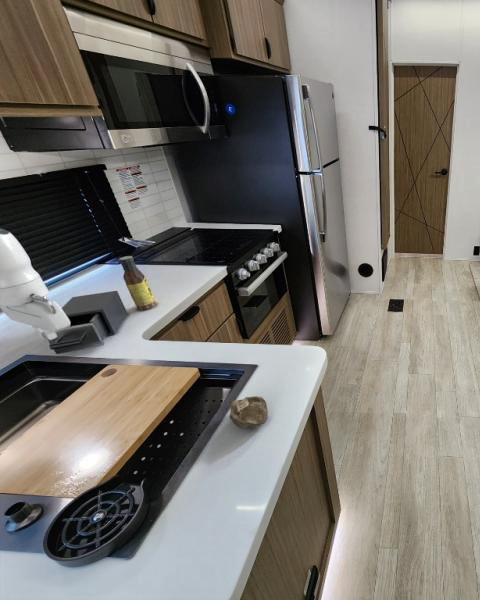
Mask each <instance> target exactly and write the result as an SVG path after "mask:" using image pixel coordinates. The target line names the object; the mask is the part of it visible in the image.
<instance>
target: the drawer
mask: <svg viewBox="0 0 480 600" xmlns="http://www.w3.org/2000/svg"><path fill="white" fill-rule="evenodd" d="M68 319H69V320H70V326H69V327H67V328H65V329H63V330H60V331H58V332H55V333H56V335H57V337H56V338H54V339H52V340H49V339H46V341H47V342H48V343H49V346H48V347H49V350H53V351H54V353H55V355H61V354H66V353H72V352H77V351H84V350H88V349H93V348H98V347H103V346H104V345H105V341H104V340H105V338H106V337H107V336H108V335H107V334H108V332H109V331H110V329H109V327H108V325H107V323H106V321H105V319H104V317H103V315H102V313H101V312H95V313H89V314H83V315H77V316H71V317H68ZM106 335H107V336H106Z"/></svg>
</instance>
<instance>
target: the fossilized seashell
mask: <svg viewBox="0 0 480 600" xmlns="http://www.w3.org/2000/svg"><path fill="white" fill-rule="evenodd" d="M229 406H230V410H229V411H230V412H229V419H230V420H231V422H232V423H233V424H234V425H235V426H236V427H239V428H240V429H241V428H243V429H251V428H255V427H260V426H262V425H264V424H265V423H266V422H267V420H268V414H269V410H268V407H267V406H268V403H267V401H266V400H265V398H263V397H262V396H258V395H257V396H255V395H253V396H245V397H244V398H242V399H237V400H230V401H229Z"/></svg>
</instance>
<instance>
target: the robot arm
mask: <svg viewBox="0 0 480 600" xmlns="http://www.w3.org/2000/svg"><path fill="white" fill-rule="evenodd" d="M49 293H50V291H49V289H48V287H47V285H46V284H45V282H44V280H43V278H42V277H41V275H40V273H39V272H37V271H36V270H35V269H34V268H33V266H32V263H31V259H30V257H29V254H28V253H27V252H26V250H25V248H24V247H23V245H22V244H21V243H20V242H19V240H18V238H16V237H15V235H13V234H12V233H11V232H10V231H9V230H7V229H4V228H1V227H0V310H1V311H2V312H3V313H4V315H6V316H7V318H9V320H12V321H14V322H18V323H22V324H25V325H29V326H31V327H32V328H33V329H34V330H35V331H37V333H38V334H40V337H42V338H43V339H46V340H47V339H49V340H52V339H54V338H56V337H57V335H56V333H55V332H58V331H60V330H63V329H65V328H67V327H69V326H70V320H69V319H68V317H67V316H66V314H65V313H64V311H63V310H62V306H60V304H59V303H58V302H56V301H55V300H53V299H49V298H47V297H46V296H48V294H49Z"/></svg>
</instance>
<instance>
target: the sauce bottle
mask: <svg viewBox="0 0 480 600" xmlns="http://www.w3.org/2000/svg"><path fill="white" fill-rule="evenodd" d="M118 261H119V263H120V265H121V267H122V269H123V271H124V272H123V281H124V282H125V286H126V288H127V290H128V292H129V294H130V296H131V299H132V301H133V303H134V305H135V306H136V308H137V310H140V311H144V310H148V309H152V308H154V307H155V306H156V305H157V304H156V299H155V297H154V295H153V292H152V290H151V287H150V285H149V283H148V280H147V278H146V276H145V274H144V273H143V272H142V271H141V270H140V269H139V268H138V267H137V265H136V263H135V259H134V257H133V255H127V256H123V257H119V258H118Z"/></svg>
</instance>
